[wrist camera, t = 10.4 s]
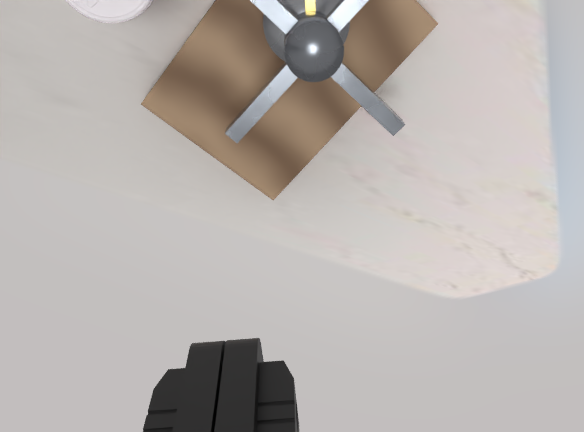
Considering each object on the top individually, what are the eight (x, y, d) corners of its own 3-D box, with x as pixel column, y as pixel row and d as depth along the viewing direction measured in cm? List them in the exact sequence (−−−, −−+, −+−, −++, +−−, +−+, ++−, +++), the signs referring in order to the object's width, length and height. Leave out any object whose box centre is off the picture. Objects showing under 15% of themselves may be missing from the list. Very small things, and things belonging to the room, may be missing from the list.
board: (273, 190, 49) (273, 201, 47) (146, 96, 44) (140, 104, 42) (431, 19, 41) (439, 24, 39) (299, -116, 37) (300, -118, 35)
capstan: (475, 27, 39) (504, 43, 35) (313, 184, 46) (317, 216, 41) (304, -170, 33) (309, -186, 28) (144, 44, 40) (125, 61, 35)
